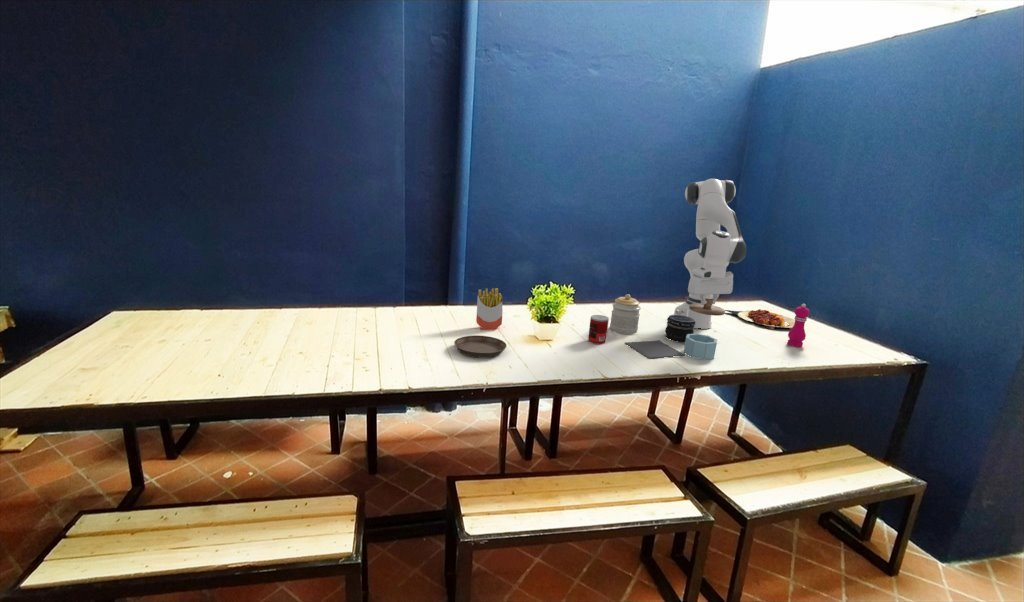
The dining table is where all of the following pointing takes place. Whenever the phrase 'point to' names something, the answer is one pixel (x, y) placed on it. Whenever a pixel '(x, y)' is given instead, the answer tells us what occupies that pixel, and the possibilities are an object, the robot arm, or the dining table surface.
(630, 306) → the jar
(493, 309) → the french fries container
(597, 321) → the canned food
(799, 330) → the pepper mill
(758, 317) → the plate of food
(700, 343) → the bowl
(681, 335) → the container
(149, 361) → the dining table surface
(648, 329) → the dining table surface
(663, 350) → the mat
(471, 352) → the plant saucer
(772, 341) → the dining table surface
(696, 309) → the lid
